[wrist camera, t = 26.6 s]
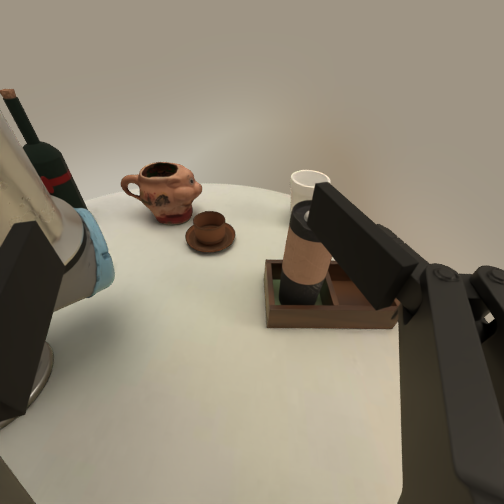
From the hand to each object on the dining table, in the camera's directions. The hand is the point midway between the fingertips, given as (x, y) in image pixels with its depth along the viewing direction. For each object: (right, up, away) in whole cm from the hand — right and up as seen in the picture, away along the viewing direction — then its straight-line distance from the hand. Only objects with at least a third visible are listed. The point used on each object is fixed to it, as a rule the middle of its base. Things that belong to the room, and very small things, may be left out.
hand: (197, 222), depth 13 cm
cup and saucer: (-7, +1, +51) cm, 52 cm away
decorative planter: (-20, +8, +58) cm, 62 cm away
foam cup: (+17, +7, +58) cm, 61 cm away
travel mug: (+12, -11, +38) cm, 41 cm away
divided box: (+17, -11, +38) cm, 43 cm away
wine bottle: (-43, +5, +53) cm, 68 cm away
